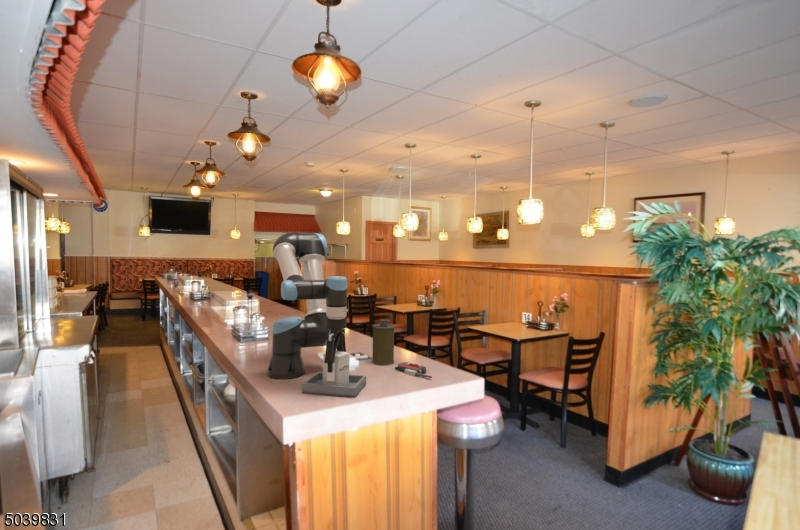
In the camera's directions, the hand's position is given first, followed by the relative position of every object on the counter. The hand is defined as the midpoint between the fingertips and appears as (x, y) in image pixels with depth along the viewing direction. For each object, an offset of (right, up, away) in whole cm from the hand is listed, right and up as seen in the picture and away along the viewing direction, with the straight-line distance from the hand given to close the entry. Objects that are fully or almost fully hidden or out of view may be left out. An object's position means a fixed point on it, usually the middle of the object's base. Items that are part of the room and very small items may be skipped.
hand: (335, 376), depth 154 cm
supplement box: (0, -4, 0) cm, 4 cm away
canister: (+16, -4, +39) cm, 42 cm away
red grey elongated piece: (+31, -5, +23) cm, 39 cm away
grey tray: (0, -5, 0) cm, 5 cm away
